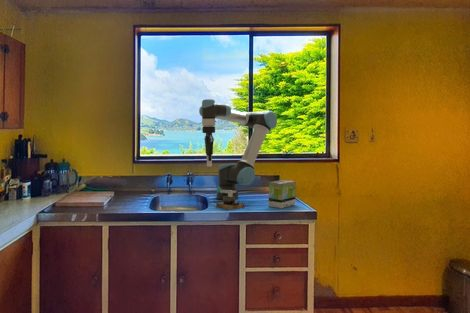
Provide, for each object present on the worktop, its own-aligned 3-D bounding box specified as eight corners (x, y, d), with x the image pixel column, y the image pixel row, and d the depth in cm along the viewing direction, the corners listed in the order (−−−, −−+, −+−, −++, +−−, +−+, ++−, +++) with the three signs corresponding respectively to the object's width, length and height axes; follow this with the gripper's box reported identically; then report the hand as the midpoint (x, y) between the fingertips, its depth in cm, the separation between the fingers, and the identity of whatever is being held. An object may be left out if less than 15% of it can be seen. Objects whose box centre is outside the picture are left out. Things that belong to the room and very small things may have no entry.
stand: (232, 204, 216) (232, 197, 216) (244, 207, 206) (244, 200, 206) (216, 206, 209) (216, 199, 208) (228, 210, 199) (227, 202, 199)
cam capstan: (237, 202, 209) (237, 188, 208) (230, 204, 203) (230, 190, 202) (220, 200, 215) (220, 186, 215) (214, 202, 209) (213, 188, 209)
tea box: (282, 209, 202) (282, 183, 201) (268, 206, 208) (268, 181, 207) (296, 204, 213) (296, 180, 212) (282, 202, 220) (282, 179, 219)
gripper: (217, 126, 200) (218, 167, 201) (212, 126, 212) (212, 165, 214) (205, 126, 197) (205, 167, 199) (199, 126, 210) (200, 165, 211)
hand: (209, 166), depth 206 cm, fingers closed
